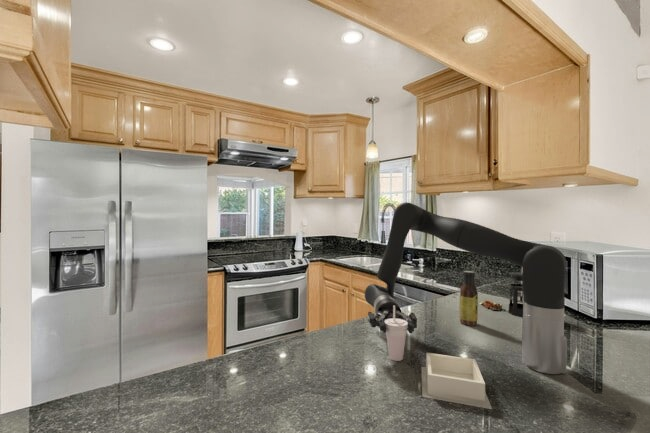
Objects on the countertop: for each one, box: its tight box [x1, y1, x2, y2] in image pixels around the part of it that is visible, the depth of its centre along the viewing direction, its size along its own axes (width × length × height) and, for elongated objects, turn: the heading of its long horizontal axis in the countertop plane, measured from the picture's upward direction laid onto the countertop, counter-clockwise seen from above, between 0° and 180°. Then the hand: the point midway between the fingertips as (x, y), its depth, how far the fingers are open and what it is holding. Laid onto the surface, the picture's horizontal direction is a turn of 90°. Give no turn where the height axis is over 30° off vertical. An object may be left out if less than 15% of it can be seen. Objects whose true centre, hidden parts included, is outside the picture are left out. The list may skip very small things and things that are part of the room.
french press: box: [507, 267, 524, 318], centre depth 129 cm, size 12×9×23 cm
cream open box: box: [425, 352, 486, 405], centre depth 73 cm, size 12×12×4 cm
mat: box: [420, 366, 493, 410], centre depth 73 cm, size 14×14×1 cm
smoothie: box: [384, 305, 408, 362], centre depth 83 cm, size 6×6×14 cm
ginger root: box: [479, 299, 507, 312], centre depth 139 cm, size 7×12×4 cm, turn 17°
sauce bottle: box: [459, 270, 479, 327], centre depth 117 cm, size 7×6×20 cm
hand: (398, 329), depth 80 cm, fingers closed on smoothie, 6 cm apart
